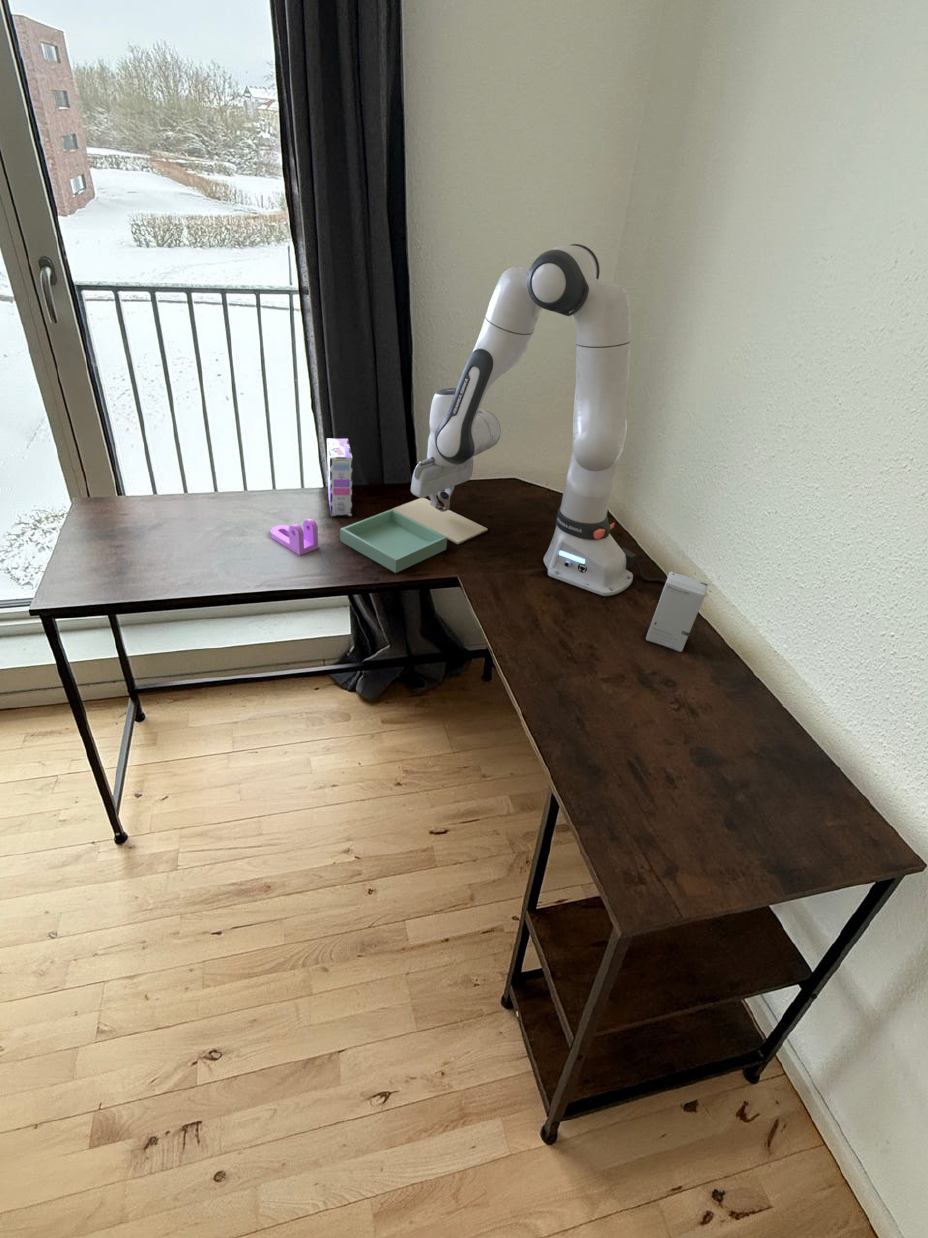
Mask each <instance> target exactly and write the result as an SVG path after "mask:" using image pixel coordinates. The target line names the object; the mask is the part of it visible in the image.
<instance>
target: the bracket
mask: <svg viewBox="0 0 928 1238" xmlns="http://www.w3.org/2000/svg"><path fill="white" fill-rule="evenodd" d="M302 525H303V526H302V527H301V525H300V524H299V523H294V524H292V525H287V524H279V525H276V526H273V527H272V528H270V537H271V539H273V540H274V541H276V542H278V543H279V544H281V545H282V546H284V547H286V548H287V549H288V550H290V551H292V552H293V553H295V554H297V555H298V556H302V555H304V554H307V553H309V552H312V551H314V550H317V549H319V528H318V524H317V522H316V521H315V519H313V518H309V519H305V520H304V521H303V523H302Z"/></svg>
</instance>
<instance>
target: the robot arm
mask: <svg viewBox="0 0 928 1238" xmlns="http://www.w3.org/2000/svg"><path fill="white" fill-rule="evenodd" d="M600 273H601V268H600V262H599V259H598V257H597V255H596V254H595V252H594V251H593V250H592V249H591V248H590V247H587V246H586V245H583V244H580V243H571V244H562V245H558V246H556V247H553V248H551V249H550V250H546V251H544V252H543V253H541V254H539V256H537V257H536V258H535V260H534V261H533V262H532V264H531V266H530V267H529V268H528V267H524V266H512V267H509V268H507V269H505V270H504V271H503V272H502V274H501V275H500V277H499V279H498V281H497V283H496V285H495V288H494V290H493V292H492V295H491V297H490V299H489V303H488V306H487V309H486V312H485V316H484V318H483V323H482V325H481V328H480V332H479V335H478V337H477V340H476V342H475V345H474V347H473V349H472V352H471V353H470V355H469V357H468V359H467V361H466V363H465V366H464V368H463V371H462V374H461V376H460V379H459V380H458V384H457V387H449V388H444V389H440V390H438V391H436V392H435V393H434V394H433V397H432V401H431V404H430V405H431V406H430V412H429V421H428V423H429V425H428V426H429V436H428V438H427V449H426V450H427V451H426V459H424V460H420V461H419V462H418V464H417V465H416V466H415V467H414V469H413V473H412V477H411V484H410V493H411V494H412V495H413V496H415V497H417V498H418V499H419V498H426V497H428V498H429V499H430V501H431V503H430V504H431V506H433V507H436V506H438V505H440V499H439V498H437V496H438V492H439V491H445V492H446V493H448V495H449V497H450V498H451V496H452V494H453V492H454V490H455V486H457V485H460V484H463V483H465V482H468V481H470V479H471V478H472V476H473V471H474V458H473V457H476V456H477V455H480V454H482V453H484V452H485V451H488V450H490V449H492V448H493V447H495V446H496V445H497V444H498V442H499V440H500V438H501V425H500V422H499V420H498V418H497V417H496V415H495V414H494V413H493V412H491V411H489V410H485V408H482V407H481V406H482V403H483V401H484V398H485V396H486V394H487V392H488V390H489V389H490V387H491V386H492V385H493V384H494V383H495V382H496V381H497V380H498V379H499V378H500V377H502V375H504V374H505V373H507V372H508V371H509V370H511V369H512V368H513V367H515V366H516V365H518V364H519V363H520V362H521V361H522V360H523V358H524V356H525V354H526V352H527V350H528V349H529V347H530V345H531V342H532V339H533V335H534V333H535V329H536V327H537V323H538V321H539V318H540V316H541V313H542V311H543V310H546V311H550V312H554V313H557V314H560V315H562V316H566V317H571V316H573V317H574V320H575V328H576V329H575V330H576V331H575V332H576V333H575V386H574V389H575V390H574V400H573V415H572V416H573V418H572V437H571V438H572V442H571V445H572V446H571V447H572V452H571V457H570V461H569V466H568V468H567V469H568V470H567V474H566V478H565V482H564V487H563V493H562V498H561V503H560V506H559V507H558V509H557V513H556V518H555V523H554V524H555V529H554V533H553V535H552V538H551V541H550V544H549V546H548V549H547V551H546V552H545V554H544V556H543V559H542V560H543V563H544V565H545V567H546V568H547V576H549V577H550V578H553V579H556V580H559V581H561V582H564V583H567V584H569V585H572V586H575V587H577V588H580V589H582V590H586V591H588V592H592V593H593V594H597V595H599V596H602V597H609V596H614V595H618V594H619V593H622V592H623V591H625V590H626V589H627V588H629V587H630V586H631V584H632V583H633V581H634V580H633V578H634V574H633V573H632V571H629V570H628V569H629V568H632V567H634V566H635V567H636V568H637V572H638V574H639V577H640V578H641V579H642V580H643V581H646V582H649V583H652V582H658V583H662V584H664V585H665V583H666V580H667V579H664V578H659V577H647V576H645V575H644V573H643V569H642V567H641V565H640V564H639V562H638V561H637V556H638V555H637V554H636V553H635V552H633V551H631V550H629V549H627V548H625V547H621V546H620V545H619V544H618V542H617V541H616V540H615V539H614V537H613V536H612V535H611V533H610V532H611V530H612V529H613V528H614V527H615V524H616V522H612V523H611V524H610V523H609V519H608V511H609V507H610V504H611V503H610V502H611V498H612V494H613V492H614V491H613V490H614V486H615V481H616V477H617V472H618V469H619V464H620V460H621V456H622V453H623V451H624V446H625V442H626V437H627V432H628V418H627V408H628V407H627V405H628V393H629V380H630V379H629V377H630V357H631V337H632V335H631V334H632V327H631V326H632V325H631V324H632V321H631V309H630V308H631V307H630V301H629V295H628V292H627V290H626V288H624V286H622V285H621V284H619V283H617V282H614V281H602V280H600V279H599V278H600Z"/></svg>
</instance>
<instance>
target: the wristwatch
mask: <svg viewBox="0 0 928 1238" xmlns="http://www.w3.org/2000/svg"><path fill="white" fill-rule="evenodd" d="M437 497H438V498H437V499H439V501H440V502H442V504H443V506H442V505H441V504H439V505H438V506H436V507H435V508H436V509H438V510H440V511H441V512H445V511H447V510H450V507H451V496H450V497H449V495H448V493H446V492H445V490H442V491H439V492H438V494H437ZM443 507H444V508H445V509H444V508H443Z"/></svg>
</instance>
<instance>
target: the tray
mask: <svg viewBox="0 0 928 1238" xmlns="http://www.w3.org/2000/svg"><path fill="white" fill-rule="evenodd" d="M339 537H340V539H339V541H340V542H341V543H342V544H345V545H346V546H348V547H349V548H351V549H353V550H355V551H356V552H358V553H360V554H362V555H363V556H365V557H367V558H368V559H370V560H372V561H374V562H375V563H377V564H379V565H381V566H383V567H384V568H386V569H388V570H390V571H391V572H393V573H394V574H397V573H399V572H401V571H403V570H405V569H407V568H410V567H413V566H414V565H416V564H418V563H421V562H423V561H424V560H427V559H429V558H431V557H434V556H436V555H437V554H440V553H442V552H443V551H446V550H447V545H448V539H447V537H446V536H444V535H442V534H440V533H438V532H436V531H434V530H432V529H430V528H428V527H426V526H424V525H422V524H420V523H418V522H417V521H415V520H413V519H411V518H409V517H407V516H405V515H403V514H401V513H399V512H397V511H395V510H393V508H391V509H388V510H386V511H383V512H380V513H378V514H375V515H372V516H370V517H367V518H364V519H362V520H359V521H357V522H354V523H351V524H348V525H346V526H343V527H341V528H340V530H339Z"/></svg>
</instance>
